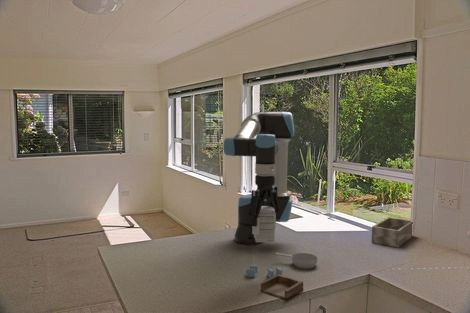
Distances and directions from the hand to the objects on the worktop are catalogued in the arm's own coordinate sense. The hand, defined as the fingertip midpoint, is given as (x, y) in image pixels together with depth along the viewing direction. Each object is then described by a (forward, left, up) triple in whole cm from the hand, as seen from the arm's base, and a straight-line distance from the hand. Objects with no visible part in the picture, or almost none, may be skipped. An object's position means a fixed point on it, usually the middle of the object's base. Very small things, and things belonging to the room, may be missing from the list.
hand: (264, 231), depth 161 cm
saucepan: (+3, +20, -18) cm, 27 cm away
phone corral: (+23, +84, -18) cm, 89 cm away
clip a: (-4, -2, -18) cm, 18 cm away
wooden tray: (+13, -7, -18) cm, 23 cm away
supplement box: (0, 0, -4) cm, 4 cm away
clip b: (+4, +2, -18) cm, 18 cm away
